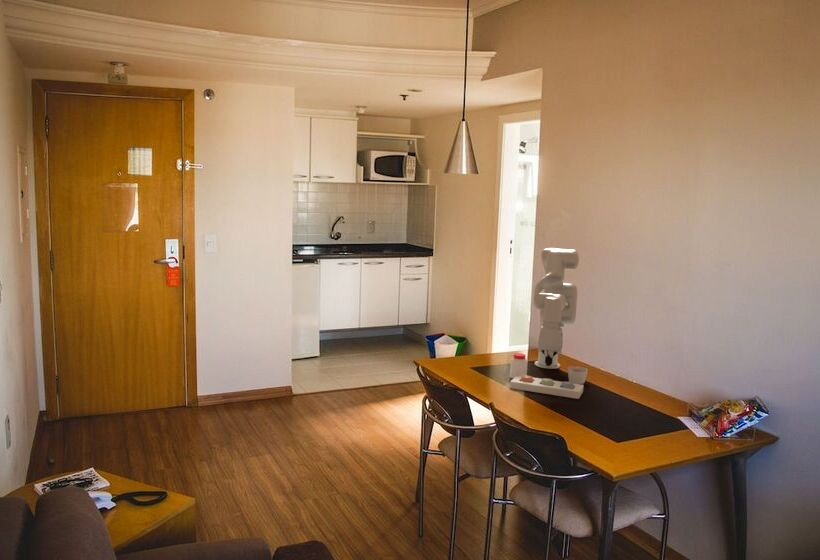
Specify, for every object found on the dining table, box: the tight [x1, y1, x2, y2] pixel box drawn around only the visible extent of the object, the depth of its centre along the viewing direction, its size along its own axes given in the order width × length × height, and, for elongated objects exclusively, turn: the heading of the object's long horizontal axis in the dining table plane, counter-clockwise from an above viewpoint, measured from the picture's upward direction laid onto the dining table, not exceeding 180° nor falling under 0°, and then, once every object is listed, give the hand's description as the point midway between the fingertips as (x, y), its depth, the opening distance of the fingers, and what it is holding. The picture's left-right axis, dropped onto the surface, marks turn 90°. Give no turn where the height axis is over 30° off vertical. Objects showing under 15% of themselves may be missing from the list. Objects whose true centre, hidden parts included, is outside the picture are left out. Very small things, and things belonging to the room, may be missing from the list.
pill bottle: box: [509, 352, 529, 380], centre depth 318 cm, size 8×8×11 cm
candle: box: [567, 365, 589, 385], centre depth 315 cm, size 9×9×6 cm
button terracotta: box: [521, 375, 533, 383], centre depth 304 cm, size 5×5×4 cm
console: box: [509, 375, 585, 400], centre depth 301 cm, size 12×30×3 cm, turn 68°
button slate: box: [561, 381, 574, 389], centre depth 297 cm, size 5×5×4 cm
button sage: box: [541, 377, 554, 386], centre depth 301 cm, size 5×5×4 cm
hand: (548, 365), depth 300 cm, fingers closed
